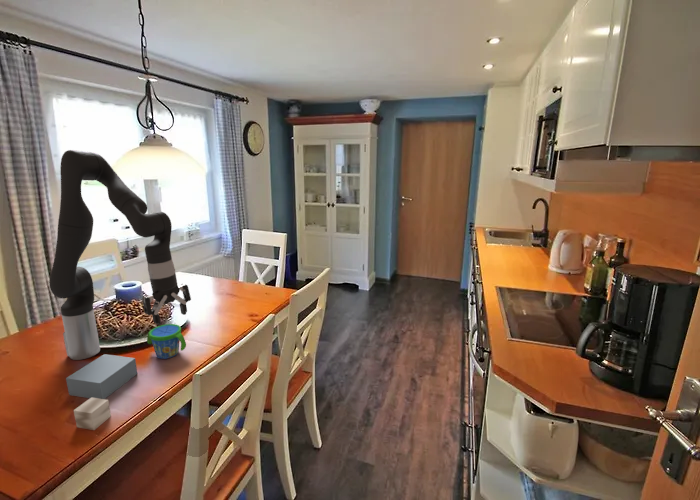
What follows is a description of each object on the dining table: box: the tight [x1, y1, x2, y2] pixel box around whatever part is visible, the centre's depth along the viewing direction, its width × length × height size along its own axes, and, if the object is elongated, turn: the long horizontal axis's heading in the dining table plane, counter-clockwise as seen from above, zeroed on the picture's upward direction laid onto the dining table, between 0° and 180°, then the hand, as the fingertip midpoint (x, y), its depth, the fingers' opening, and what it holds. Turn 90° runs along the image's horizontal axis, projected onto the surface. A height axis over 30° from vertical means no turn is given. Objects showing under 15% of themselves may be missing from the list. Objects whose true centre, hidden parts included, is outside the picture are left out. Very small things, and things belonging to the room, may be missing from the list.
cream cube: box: [73, 397, 112, 431], centre depth 97 cm, size 6×6×6 cm
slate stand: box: [65, 353, 138, 400], centre depth 113 cm, size 12×14×6 cm
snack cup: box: [146, 323, 187, 360], centre depth 130 cm, size 16×10×10 cm
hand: (171, 318), depth 117 cm, fingers open, 8 cm apart
